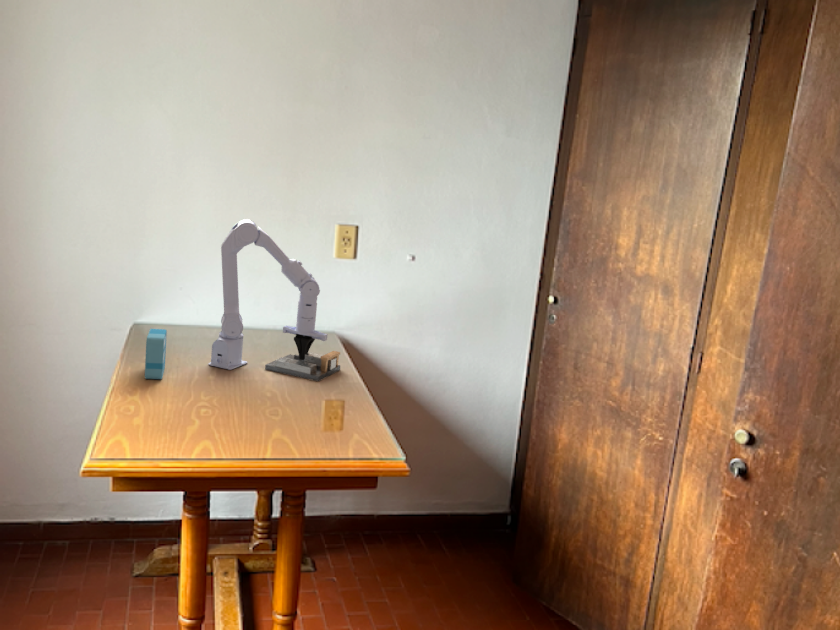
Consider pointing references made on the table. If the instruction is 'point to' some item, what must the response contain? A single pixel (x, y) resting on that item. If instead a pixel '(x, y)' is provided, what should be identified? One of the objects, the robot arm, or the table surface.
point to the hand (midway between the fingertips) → (302, 358)
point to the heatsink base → (304, 366)
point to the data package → (155, 353)
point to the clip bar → (319, 360)
